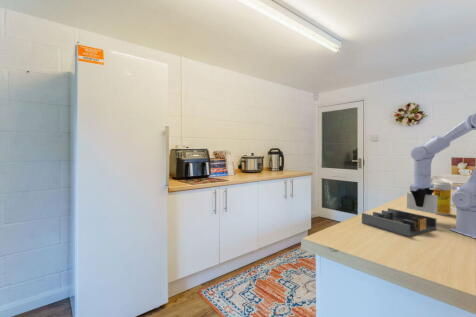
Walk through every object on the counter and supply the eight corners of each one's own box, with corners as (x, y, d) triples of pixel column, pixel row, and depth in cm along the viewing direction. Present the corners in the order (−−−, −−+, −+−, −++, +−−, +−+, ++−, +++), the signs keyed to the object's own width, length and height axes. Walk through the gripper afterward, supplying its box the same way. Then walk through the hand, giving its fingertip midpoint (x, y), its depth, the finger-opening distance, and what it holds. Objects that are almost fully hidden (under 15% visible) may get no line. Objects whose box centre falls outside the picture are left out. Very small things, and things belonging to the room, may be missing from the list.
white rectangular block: (437, 212, 98) (437, 195, 97) (433, 213, 96) (433, 196, 96) (410, 207, 107) (410, 192, 106) (406, 208, 105) (407, 192, 105)
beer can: (430, 213, 112) (430, 181, 111) (437, 211, 114) (437, 181, 114) (445, 216, 106) (446, 183, 106) (452, 214, 109) (453, 182, 108)
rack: (436, 228, 90) (436, 216, 90) (408, 236, 82) (408, 222, 82) (388, 217, 106) (389, 206, 106) (361, 222, 99) (361, 210, 98)
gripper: (421, 173, 108) (420, 202, 108) (402, 174, 101) (401, 206, 102) (439, 174, 101) (439, 205, 102) (420, 176, 95) (420, 209, 95)
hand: (421, 206), depth 101 cm, fingers closed on white rectangular block, 3 cm apart
